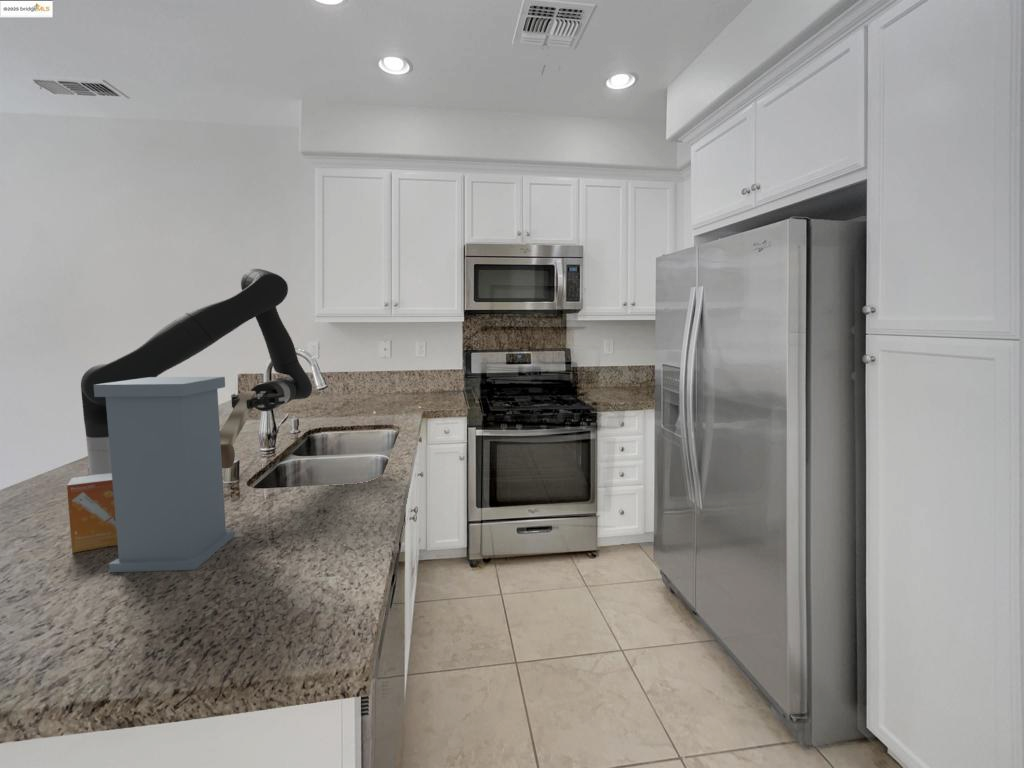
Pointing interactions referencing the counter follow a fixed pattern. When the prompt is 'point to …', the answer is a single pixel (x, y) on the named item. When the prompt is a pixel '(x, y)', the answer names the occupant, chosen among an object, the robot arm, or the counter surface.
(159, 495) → the stand
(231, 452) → the mallet
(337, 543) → the counter surface
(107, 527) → the small box
